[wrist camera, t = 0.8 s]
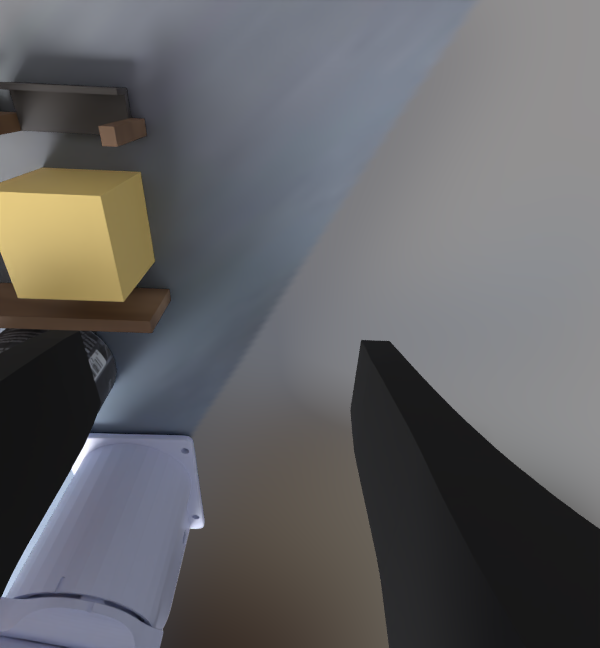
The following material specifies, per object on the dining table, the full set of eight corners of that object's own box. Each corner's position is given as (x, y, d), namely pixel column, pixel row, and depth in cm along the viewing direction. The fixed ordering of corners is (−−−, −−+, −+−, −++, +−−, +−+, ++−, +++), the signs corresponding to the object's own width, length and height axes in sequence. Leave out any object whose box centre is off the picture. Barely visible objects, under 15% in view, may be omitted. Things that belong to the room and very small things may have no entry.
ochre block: (155, 260, 19) (123, 301, 15) (69, 257, 18) (18, 298, 15) (141, 171, 16) (100, 196, 13) (43, 167, 16) (-24, 190, 13)
